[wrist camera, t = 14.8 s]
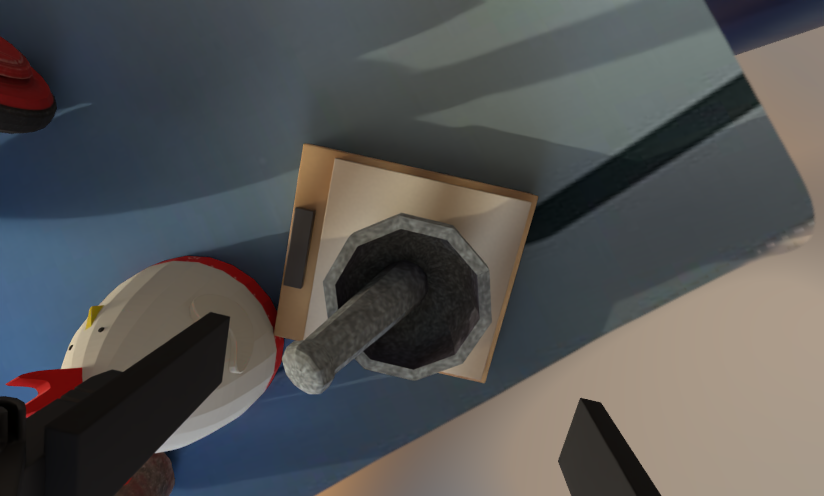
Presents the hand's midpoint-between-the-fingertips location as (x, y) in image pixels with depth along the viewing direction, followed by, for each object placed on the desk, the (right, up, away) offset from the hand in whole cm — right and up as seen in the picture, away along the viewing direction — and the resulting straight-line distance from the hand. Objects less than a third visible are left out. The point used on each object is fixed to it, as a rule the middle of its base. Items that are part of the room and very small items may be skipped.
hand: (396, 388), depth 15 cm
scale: (0, +4, +18) cm, 18 cm away
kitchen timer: (-17, -2, +20) cm, 27 cm away
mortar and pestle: (0, +3, +15) cm, 16 cm away
